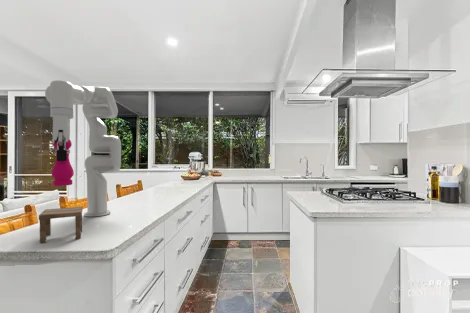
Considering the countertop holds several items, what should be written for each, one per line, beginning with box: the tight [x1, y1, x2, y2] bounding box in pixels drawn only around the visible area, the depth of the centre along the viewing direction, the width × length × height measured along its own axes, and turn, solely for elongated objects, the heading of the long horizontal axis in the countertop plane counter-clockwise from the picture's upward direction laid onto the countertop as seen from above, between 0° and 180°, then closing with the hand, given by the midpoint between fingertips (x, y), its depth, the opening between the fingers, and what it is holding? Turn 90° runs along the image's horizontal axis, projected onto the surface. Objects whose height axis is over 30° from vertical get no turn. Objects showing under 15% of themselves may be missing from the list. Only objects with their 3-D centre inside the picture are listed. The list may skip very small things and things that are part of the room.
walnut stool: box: [38, 206, 83, 244], centre depth 108 cm, size 13×13×10 cm
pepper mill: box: [51, 137, 75, 187], centre depth 108 cm, size 7×7×20 cm
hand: (62, 160), depth 108 cm, fingers closed on pepper mill, 5 cm apart
